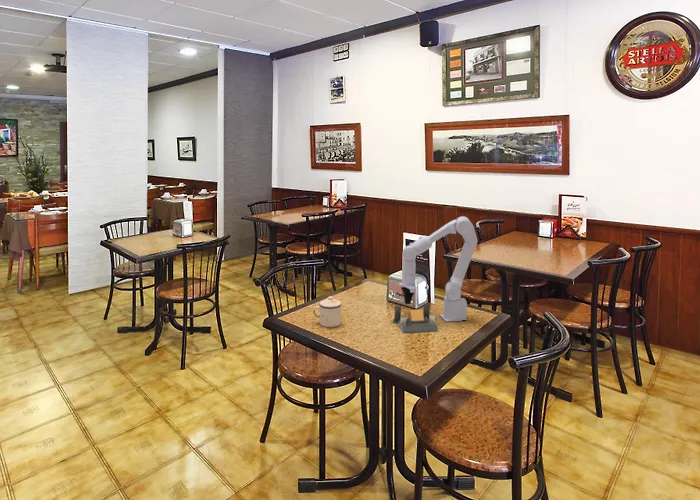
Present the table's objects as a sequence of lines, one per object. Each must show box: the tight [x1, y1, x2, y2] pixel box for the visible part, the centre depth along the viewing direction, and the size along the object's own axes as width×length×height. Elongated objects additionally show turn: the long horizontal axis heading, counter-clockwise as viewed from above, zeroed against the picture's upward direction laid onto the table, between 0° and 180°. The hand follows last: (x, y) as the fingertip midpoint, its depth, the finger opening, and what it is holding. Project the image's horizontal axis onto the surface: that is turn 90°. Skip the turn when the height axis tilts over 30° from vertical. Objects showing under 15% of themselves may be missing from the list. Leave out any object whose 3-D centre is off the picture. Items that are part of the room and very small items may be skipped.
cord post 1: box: [392, 304, 402, 325], centre depth 188 cm, size 4×4×7 cm
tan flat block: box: [409, 309, 425, 322], centre depth 182 cm, size 6×1×5 cm, turn 98°
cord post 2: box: [422, 303, 431, 318], centre depth 190 cm, size 4×4×7 cm
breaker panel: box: [397, 315, 438, 334], centre depth 181 cm, size 14×8×5 cm, turn 98°
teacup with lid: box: [312, 296, 342, 328], centre depth 185 cm, size 12×9×12 cm
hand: (407, 303), depth 195 cm, fingers closed
